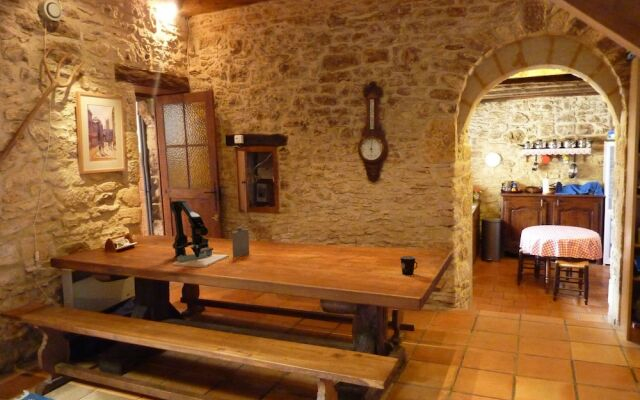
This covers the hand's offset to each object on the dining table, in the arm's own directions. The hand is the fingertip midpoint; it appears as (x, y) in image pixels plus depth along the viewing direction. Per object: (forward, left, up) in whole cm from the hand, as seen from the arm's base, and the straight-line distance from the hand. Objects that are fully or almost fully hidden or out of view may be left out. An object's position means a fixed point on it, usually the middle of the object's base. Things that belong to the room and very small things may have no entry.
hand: (197, 257), depth 327 cm
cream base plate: (+2, +2, -3) cm, 4 cm away
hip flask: (+20, +24, -3) cm, 31 cm away
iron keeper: (-1, +10, -1) cm, 10 cm away
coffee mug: (+141, -1, -3) cm, 141 cm away
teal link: (-4, -1, -1) cm, 4 cm away
